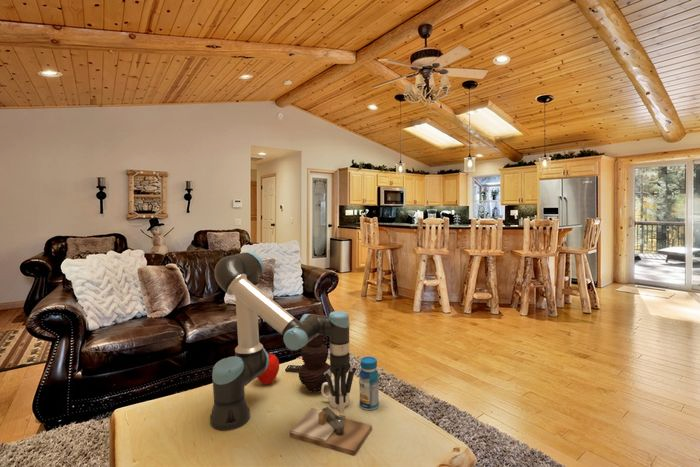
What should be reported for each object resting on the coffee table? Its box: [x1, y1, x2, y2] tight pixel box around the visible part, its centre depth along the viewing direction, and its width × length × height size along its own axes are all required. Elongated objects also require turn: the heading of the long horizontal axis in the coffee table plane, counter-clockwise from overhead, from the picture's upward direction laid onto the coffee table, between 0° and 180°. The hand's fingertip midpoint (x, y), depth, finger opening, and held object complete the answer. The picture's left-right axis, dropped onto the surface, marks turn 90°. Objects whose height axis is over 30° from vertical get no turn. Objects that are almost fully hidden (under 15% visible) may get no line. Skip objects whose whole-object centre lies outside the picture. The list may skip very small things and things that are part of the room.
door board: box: [289, 407, 373, 456], centre depth 141 cm, size 26×16×7 cm, turn 65°
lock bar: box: [321, 406, 344, 435], centre depth 142 cm, size 12×3×5 cm, turn 34°
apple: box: [256, 353, 280, 385], centre depth 181 cm, size 12×12×13 cm
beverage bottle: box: [358, 356, 380, 411], centre depth 159 cm, size 8×8×20 cm
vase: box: [297, 335, 333, 393], centre depth 173 cm, size 15×15×30 cm
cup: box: [320, 376, 350, 409], centre depth 161 cm, size 8×12×10 cm
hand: (340, 410), depth 147 cm, fingers closed
